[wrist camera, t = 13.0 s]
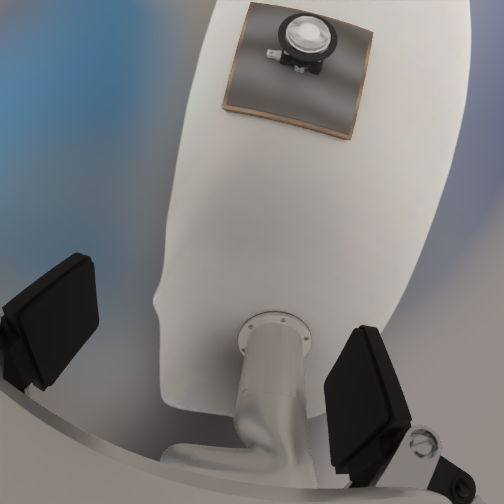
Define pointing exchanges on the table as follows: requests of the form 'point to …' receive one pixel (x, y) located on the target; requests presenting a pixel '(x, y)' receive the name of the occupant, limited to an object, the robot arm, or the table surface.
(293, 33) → the push button
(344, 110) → the walnut stand
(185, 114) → the table surface
